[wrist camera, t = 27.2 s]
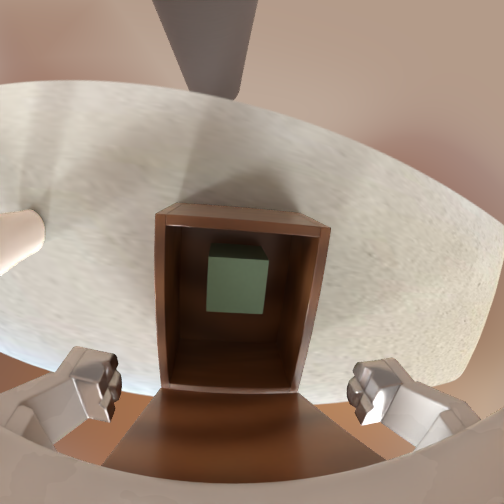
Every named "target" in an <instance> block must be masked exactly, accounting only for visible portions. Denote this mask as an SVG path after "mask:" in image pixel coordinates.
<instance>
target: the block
mask: <svg viewBox="0 0 504 504" xmlns="http://www.w3.org/2000/svg"><path fill="white" fill-rule="evenodd" d="M268 266H269V259H268V258H267V256H266V254H265V252H264V250H263V248H262V246H253V245H238V244H224V243H211V246H210V251H209V257H208V275H207V299H206V311H210V312H227V313H248V314H263V308H264V300H265V291H266V283H267V274H268Z"/></svg>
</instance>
